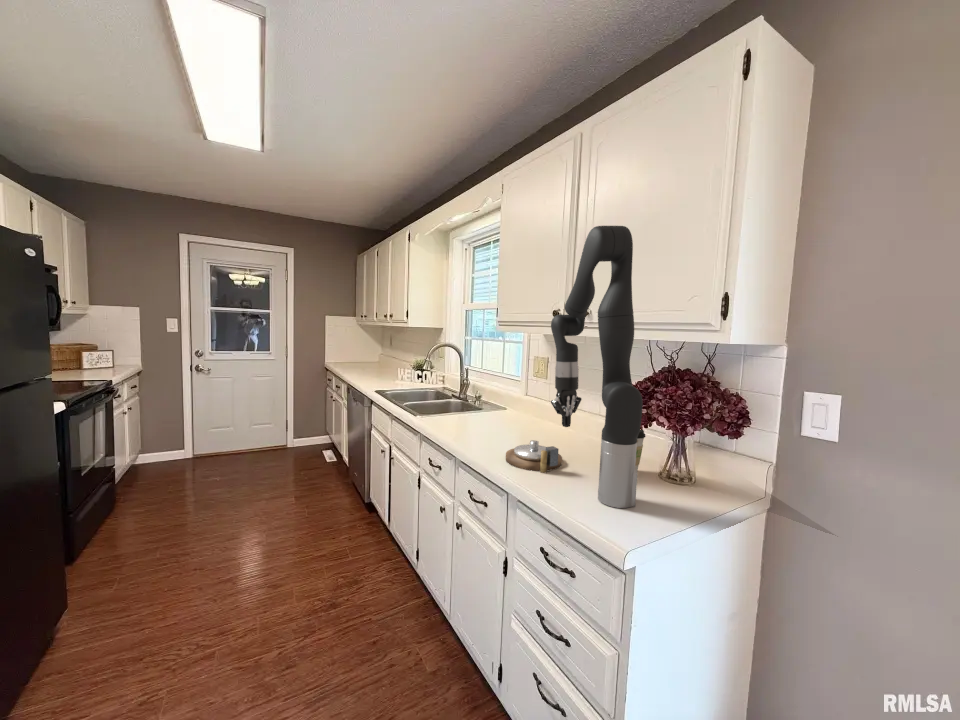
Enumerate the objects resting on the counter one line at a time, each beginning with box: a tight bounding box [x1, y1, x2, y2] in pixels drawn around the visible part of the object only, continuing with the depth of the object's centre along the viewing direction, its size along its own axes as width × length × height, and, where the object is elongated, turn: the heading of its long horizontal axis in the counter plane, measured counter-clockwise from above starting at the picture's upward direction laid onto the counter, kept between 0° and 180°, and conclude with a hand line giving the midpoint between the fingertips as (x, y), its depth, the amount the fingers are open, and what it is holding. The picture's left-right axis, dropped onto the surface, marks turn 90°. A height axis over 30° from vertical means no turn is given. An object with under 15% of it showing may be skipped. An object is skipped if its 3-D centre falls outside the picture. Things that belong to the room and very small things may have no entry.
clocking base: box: [505, 447, 563, 474], centre depth 139 cm, size 20×22×7 cm
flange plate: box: [513, 439, 560, 466], centre depth 138 cm, size 20×14×6 cm
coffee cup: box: [635, 429, 646, 472], centre depth 132 cm, size 10×10×15 cm
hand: (566, 426), depth 131 cm, fingers closed
